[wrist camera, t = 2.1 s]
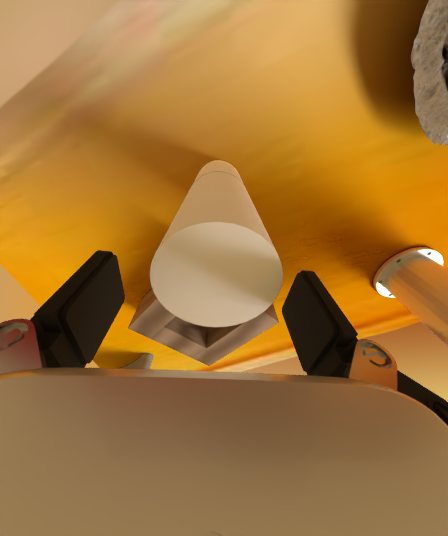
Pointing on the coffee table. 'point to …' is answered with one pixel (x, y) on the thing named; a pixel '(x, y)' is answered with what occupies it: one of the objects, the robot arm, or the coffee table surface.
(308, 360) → the robot arm
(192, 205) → the cylindrical container
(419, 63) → the stone bowl
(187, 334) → the walnut well block
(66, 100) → the coffee table surface
